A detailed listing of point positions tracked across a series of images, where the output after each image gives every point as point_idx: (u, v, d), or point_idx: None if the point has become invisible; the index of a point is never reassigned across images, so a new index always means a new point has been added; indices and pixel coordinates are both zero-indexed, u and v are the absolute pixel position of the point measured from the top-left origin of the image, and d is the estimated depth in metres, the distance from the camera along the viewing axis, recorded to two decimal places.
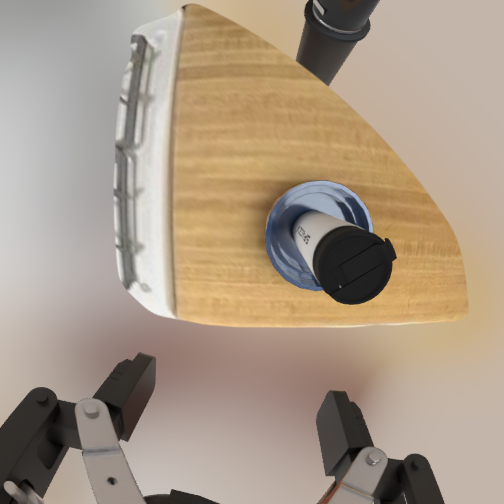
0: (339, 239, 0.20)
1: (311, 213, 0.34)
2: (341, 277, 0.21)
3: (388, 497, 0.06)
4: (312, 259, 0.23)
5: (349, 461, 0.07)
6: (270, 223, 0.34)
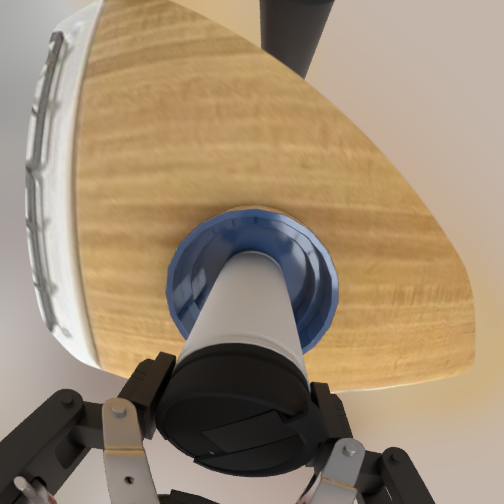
0: (186, 396, 0.08)
1: (237, 260, 0.23)
2: (210, 443, 0.09)
3: (368, 491, 0.06)
4: None
5: (326, 451, 0.07)
6: (171, 278, 0.22)
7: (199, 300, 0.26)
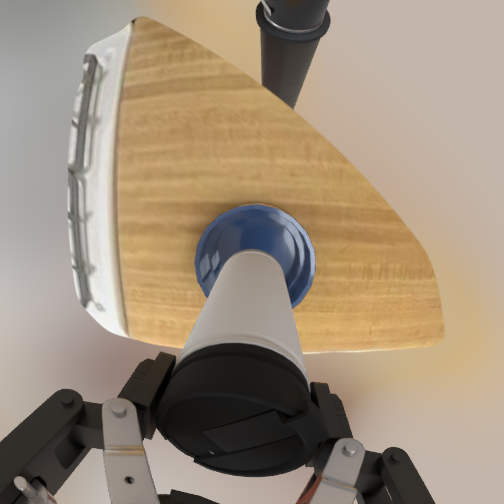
0: (186, 396, 0.08)
1: (238, 260, 0.23)
2: (210, 443, 0.09)
3: (368, 491, 0.06)
4: None
5: (326, 451, 0.07)
6: (199, 252, 0.32)
7: (216, 271, 0.36)
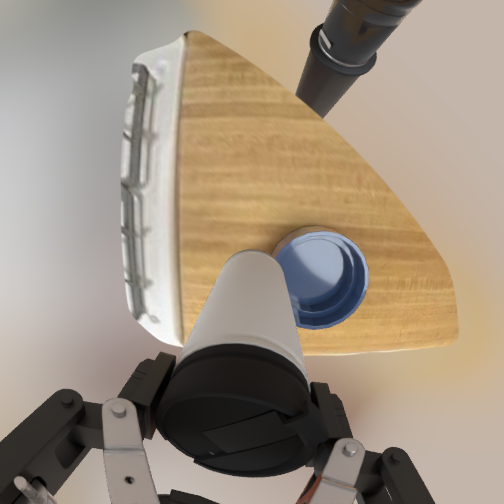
0: (186, 397, 0.08)
1: (238, 260, 0.23)
2: (210, 443, 0.09)
3: (368, 491, 0.06)
4: None
5: (326, 451, 0.07)
6: None
7: None
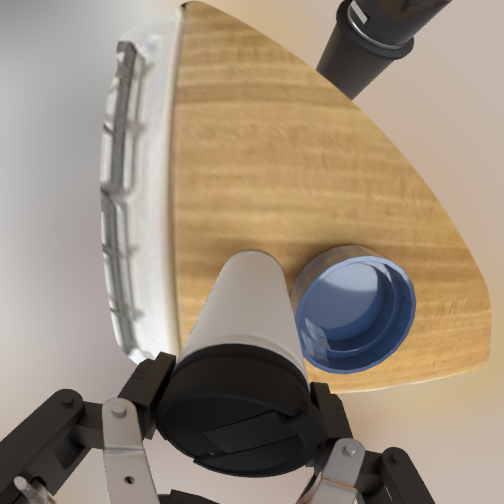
0: (186, 397, 0.08)
1: (238, 260, 0.23)
2: (210, 443, 0.09)
3: (368, 491, 0.06)
4: None
5: (326, 451, 0.07)
6: (300, 308, 0.26)
7: None
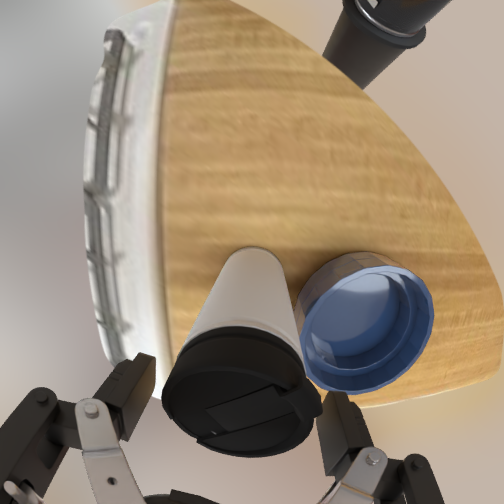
0: (192, 373, 0.09)
1: (239, 256, 0.24)
2: (213, 422, 0.10)
3: (388, 497, 0.06)
4: None
5: (349, 461, 0.07)
6: (307, 326, 0.23)
7: None
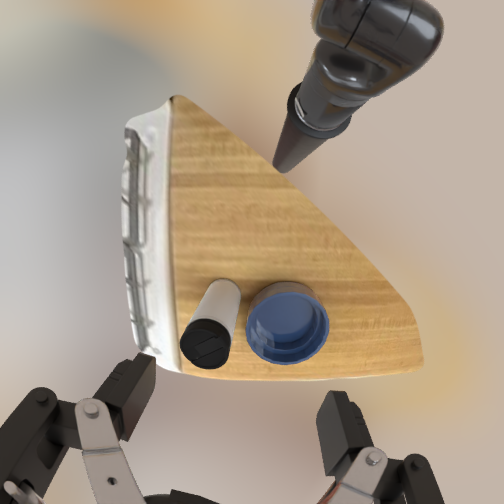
0: (190, 332, 0.31)
1: (214, 285, 0.45)
2: (197, 352, 0.32)
3: (389, 497, 0.06)
4: None
5: (349, 461, 0.07)
6: (249, 322, 0.44)
7: (257, 330, 0.49)
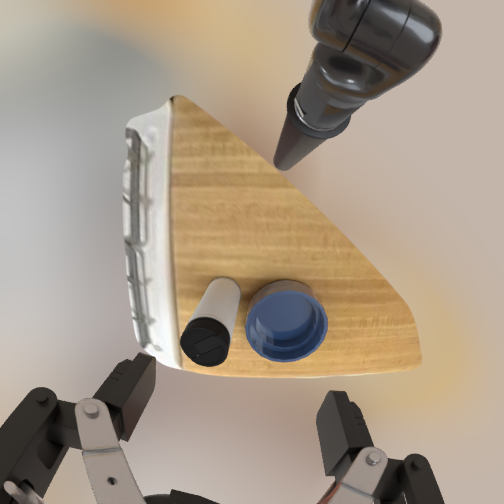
0: (190, 330, 0.32)
1: (214, 284, 0.46)
2: (197, 350, 0.32)
3: (388, 497, 0.06)
4: None
5: (349, 461, 0.07)
6: (248, 320, 0.45)
7: (257, 327, 0.50)
